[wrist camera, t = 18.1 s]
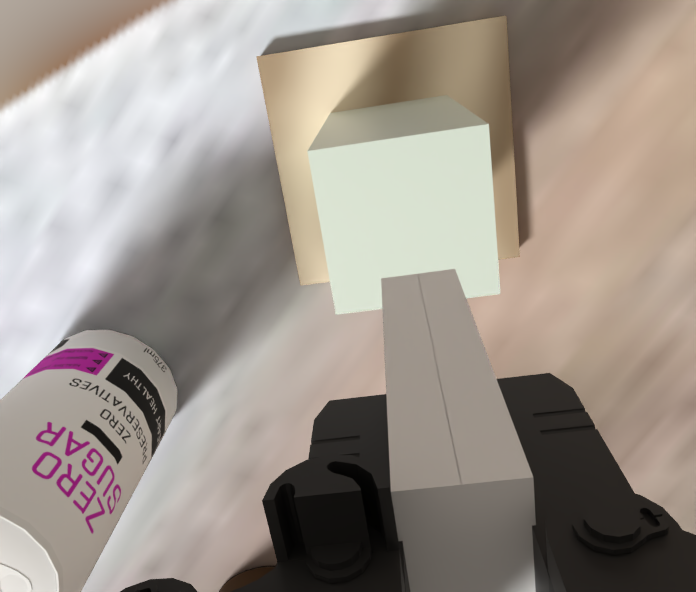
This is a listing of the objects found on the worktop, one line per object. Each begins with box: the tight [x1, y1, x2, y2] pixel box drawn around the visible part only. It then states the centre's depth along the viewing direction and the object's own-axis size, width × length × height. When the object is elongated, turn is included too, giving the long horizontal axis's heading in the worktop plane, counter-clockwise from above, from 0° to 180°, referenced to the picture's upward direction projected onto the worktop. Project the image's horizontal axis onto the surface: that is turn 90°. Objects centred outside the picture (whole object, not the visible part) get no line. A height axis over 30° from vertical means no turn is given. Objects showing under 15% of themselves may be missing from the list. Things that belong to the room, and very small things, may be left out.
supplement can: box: [0, 330, 177, 592], centre depth 32 cm, size 8×8×15 cm
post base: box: [257, 16, 520, 285], centre depth 29 cm, size 12×12×8 cm
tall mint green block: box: [307, 95, 500, 315], centre depth 27 cm, size 6×6×12 cm
